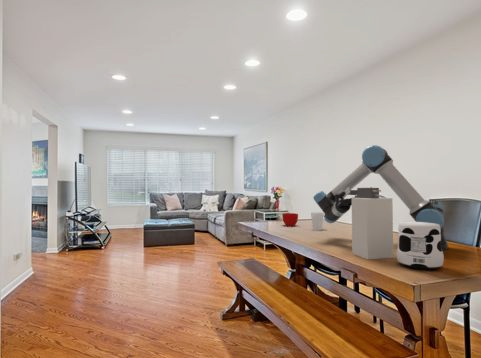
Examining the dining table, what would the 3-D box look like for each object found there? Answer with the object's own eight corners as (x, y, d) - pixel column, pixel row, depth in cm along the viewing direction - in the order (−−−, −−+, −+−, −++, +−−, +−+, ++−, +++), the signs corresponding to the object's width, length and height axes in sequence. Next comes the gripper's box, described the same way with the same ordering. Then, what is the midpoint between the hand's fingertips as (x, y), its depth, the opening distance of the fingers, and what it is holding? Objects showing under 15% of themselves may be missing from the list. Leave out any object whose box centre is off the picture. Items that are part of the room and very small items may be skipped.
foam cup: (310, 230, 233) (310, 213, 234) (312, 228, 242) (312, 212, 242) (323, 231, 230) (323, 213, 230) (324, 229, 238) (324, 212, 239)
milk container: (423, 260, 141) (423, 220, 141) (454, 271, 124) (453, 226, 124) (388, 262, 139) (387, 221, 139) (414, 273, 122) (413, 227, 122)
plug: (343, 197, 164) (343, 187, 164) (351, 196, 167) (351, 187, 167) (374, 198, 148) (374, 188, 148) (382, 198, 151) (382, 187, 151)
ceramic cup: (302, 225, 264) (302, 213, 264) (294, 227, 250) (294, 215, 250) (288, 224, 271) (288, 212, 271) (279, 226, 257) (279, 214, 257)
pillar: (352, 253, 156) (351, 197, 156) (376, 252, 159) (375, 197, 159) (367, 259, 144) (366, 199, 144) (393, 257, 147) (392, 198, 148)
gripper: (362, 212, 179) (384, 195, 161) (323, 214, 173) (341, 196, 155) (358, 201, 182) (379, 183, 165) (319, 202, 176) (337, 183, 159)
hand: (360, 189), depth 160 cm, fingers open, 13 cm apart
